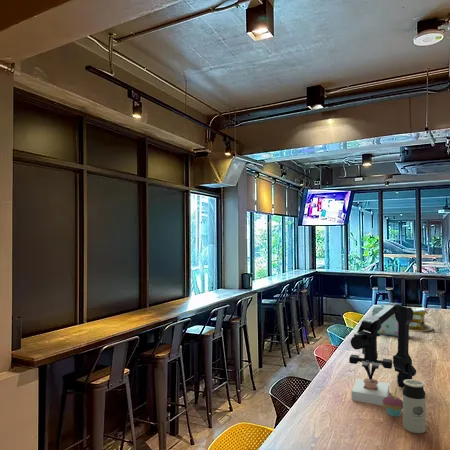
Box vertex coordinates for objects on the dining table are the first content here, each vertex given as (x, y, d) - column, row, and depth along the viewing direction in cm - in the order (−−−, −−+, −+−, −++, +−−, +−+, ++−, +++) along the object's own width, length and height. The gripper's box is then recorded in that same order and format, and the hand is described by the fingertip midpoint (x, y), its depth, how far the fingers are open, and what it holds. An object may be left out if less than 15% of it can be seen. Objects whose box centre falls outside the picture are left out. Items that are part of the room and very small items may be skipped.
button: (378, 388, 186) (378, 379, 186) (377, 392, 180) (377, 384, 180) (364, 385, 189) (364, 377, 189) (362, 390, 183) (362, 381, 183)
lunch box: (369, 333, 301) (369, 305, 302) (373, 330, 310) (372, 303, 310) (407, 338, 286) (407, 309, 287) (409, 335, 295) (409, 306, 295)
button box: (389, 391, 189) (389, 383, 189) (386, 406, 173) (386, 397, 173) (356, 386, 196) (356, 378, 196) (351, 399, 180) (351, 391, 180)
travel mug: (401, 422, 158) (401, 377, 158) (423, 425, 156) (422, 380, 156) (404, 432, 150) (404, 385, 151) (427, 435, 148) (427, 387, 149)
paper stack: (428, 333, 300) (427, 311, 301) (394, 328, 317) (394, 307, 317) (437, 328, 318) (436, 307, 319) (405, 323, 335) (405, 303, 335)
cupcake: (409, 417, 163) (408, 388, 163) (391, 420, 160) (391, 390, 160) (394, 408, 171) (394, 380, 171) (378, 411, 168) (377, 383, 169)
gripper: (392, 344, 188) (393, 377, 188) (352, 339, 196) (352, 371, 196) (391, 350, 178) (391, 385, 178) (349, 345, 186) (349, 378, 186)
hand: (370, 379), depth 185 cm, fingers closed
